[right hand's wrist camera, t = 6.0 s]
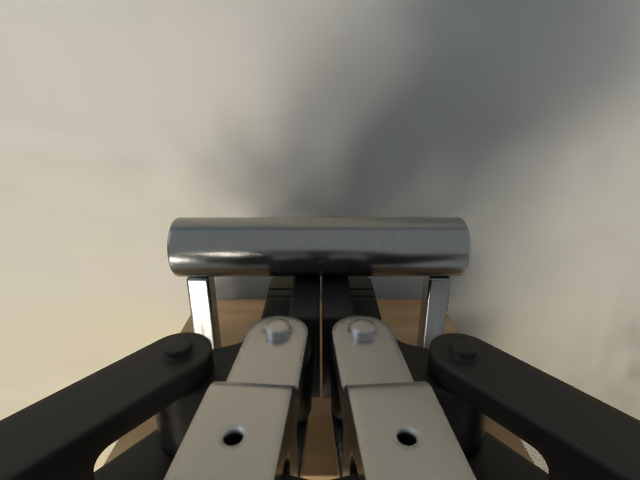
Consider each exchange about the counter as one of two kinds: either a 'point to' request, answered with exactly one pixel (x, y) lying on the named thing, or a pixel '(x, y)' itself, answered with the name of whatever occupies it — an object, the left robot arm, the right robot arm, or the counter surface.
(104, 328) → the counter surface
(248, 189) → the counter surface
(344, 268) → the drawer
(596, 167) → the counter surface
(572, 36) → the counter surface
